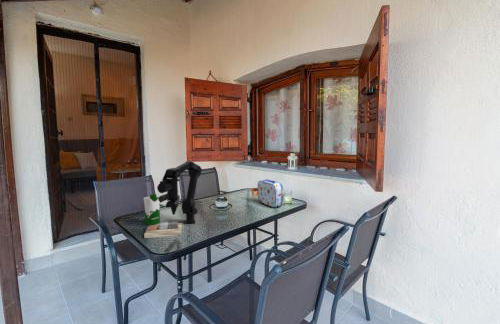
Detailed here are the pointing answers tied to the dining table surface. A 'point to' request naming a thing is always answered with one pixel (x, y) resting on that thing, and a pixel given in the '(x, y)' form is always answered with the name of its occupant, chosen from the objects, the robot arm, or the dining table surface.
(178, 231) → the keypad board
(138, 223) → the dining table surface
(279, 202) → the lunch box
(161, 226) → the key grey
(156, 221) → the milk carton
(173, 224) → the key charcoal
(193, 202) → the robot arm
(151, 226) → the key terracotta
